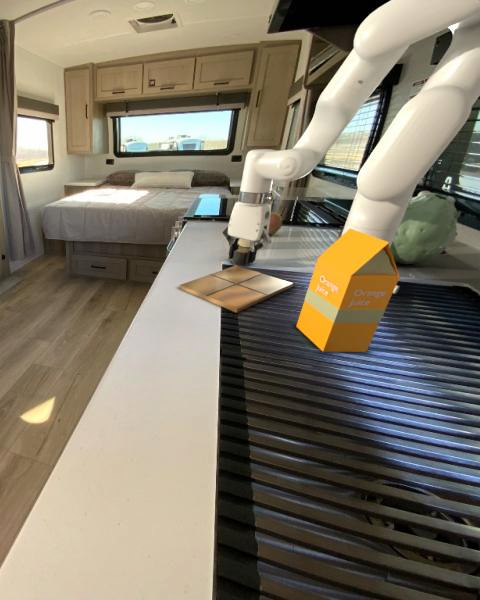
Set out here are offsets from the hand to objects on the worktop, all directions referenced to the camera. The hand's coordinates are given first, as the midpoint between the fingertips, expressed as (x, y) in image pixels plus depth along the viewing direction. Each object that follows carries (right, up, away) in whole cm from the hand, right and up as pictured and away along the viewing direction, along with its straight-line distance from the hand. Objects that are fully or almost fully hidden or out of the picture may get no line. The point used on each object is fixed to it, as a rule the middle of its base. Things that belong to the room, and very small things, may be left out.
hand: (240, 260), depth 99 cm
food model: (+10, +7, +16) cm, 20 cm away
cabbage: (+48, -1, -1) cm, 48 cm away
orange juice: (-1, -20, -37) cm, 41 cm away
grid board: (-9, -9, -15) cm, 20 cm away
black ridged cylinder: (0, -1, 0) cm, 1 cm away
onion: (+23, +13, +29) cm, 39 cm away
